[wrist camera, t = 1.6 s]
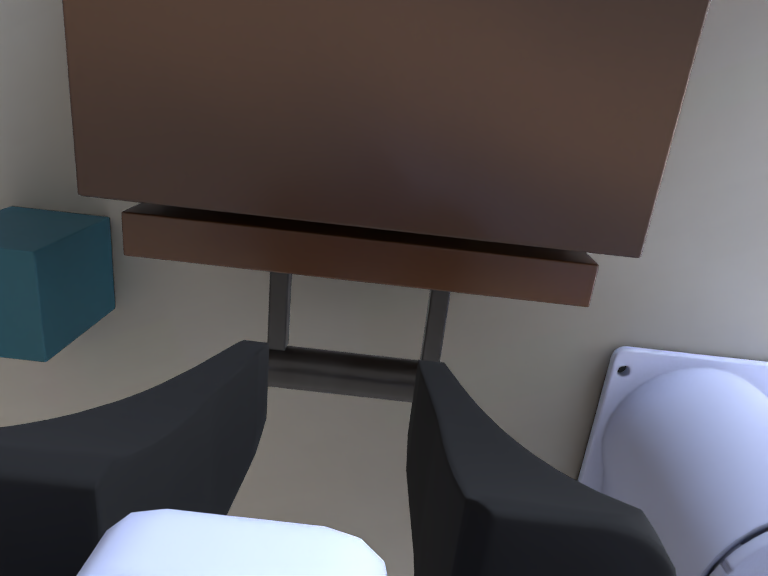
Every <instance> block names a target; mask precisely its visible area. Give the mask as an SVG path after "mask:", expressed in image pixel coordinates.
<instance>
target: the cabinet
mask: <svg viewBox="0 0 768 576" xmlns="http://www.w3.org/2000/svg"><path fill="white" fill-rule="evenodd" d="M710 1H711V0H62V3H63V15H64V27H65V40H66V52H67V64H68V77H69V89H70V102H71V114H72V126H73V139H74V151H75V163H76V176H77V188H78V194H79V195H81V196H86V197H95V198H104V199H113V200H122V201H131V202H140V203H149V204H158V205H167V206H176V207H185V208H194V209H203V210H212V211H221V212H230V213H238V214H247V215H256V216H265V217H274V218H283V219H292V220H301V221H310V222H319V223H328V224H337V225H346V226H355V227H364V228H373V229H382V230H391V231H400V232H409V233H417V234H426V235H435V236H444V237H453V238H462V239H471V240H480V241H489V242H498V243H507V244H516V245H525V246H534V247H543V248H552V249H561V250H570V251H579V252H588V253H596V254H605V255H614V256H623V257H632V258H640V257H641V255H642V252H643V248H644V244H645V241H646V237H647V233H648V230H649V226H650V222H651V218H652V215H653V211H654V207H655V204H656V200H657V196H658V193H659V189H660V185H661V182H662V178H663V174H664V171H665V167H666V163H667V160H668V156H669V152H670V148H671V145H672V141H673V137H674V134H675V130H676V126H677V123H678V119H679V115H680V112H681V108H682V104H683V101H684V97H685V93H686V90H687V86H688V82H689V79H690V75H691V71H692V67H693V64H694V60H695V56H696V53H697V49H698V45H699V42H700V38H701V34H702V31H703V27H704V23H705V20H706V16H707V12H708V9H709V5H710Z"/></svg>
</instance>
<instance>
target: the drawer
mask: <svg viewBox="0 0 768 576" xmlns="http://www.w3.org/2000/svg"><path fill="white" fill-rule="evenodd" d="M122 232H123V250H124V255H126V256H135V257H144V258H153V259H162V260H171V261H180V262H189V263H198V264H207V265H216V266H225V267H233V268H242V269H251V270H260V271H269V272H270V288H269V315H268V341H267V343H269V363H268V386H269V387H278V388H287V389H296V390H304V391H313V392H322V393H331V394H340V395H349V396H358V397H367V398H376V399H385V400H394V401H402V402H411V403H412V401H413V393H414V386H415V379H416V372H417V365H418V360H411V359H402V358H393V357H384V356H375V355H366V354H357V353H348V352H339V351H330V350H321V349H312V348H304V347H295V346H287V345H288V341H289V322H290V303H291V283H292V274H296V275H305V276H314V277H323V278H332V279H341V280H350V281H359V282H368V283H376V284H385V285H394V286H403V287H412V288H421V289H430V293H429V300H428V307H427V314H426V322H425V329H424V336H423V343H422V350H421V357H420V360H425V361H434V362H440V357H441V351H442V344H443V338H444V331H445V325H446V318H447V312H448V305H449V299H450V292H457V293H466V294H475V295H484V296H493V297H502V298H511V299H520V300H528V301H537V302H546V303H555V304H564V305H573V306H582V307H589V305H590V301H591V297H592V293H593V288H594V284H595V280H596V276H597V272H598V268H599V265H598V264H597V263H596V262H595V261H594V260H593V259H592V258H591V257H590V256H589V255H588V254H587V253H586V252H579V251H570V250H561V249H552V248H543V247H534V246H525V245H516V244H507V243H498V242H489V241H480V240H471V239H462V238H453V237H444V236H435V235H426V234H417V233H409V232H400V231H391V230H382V229H373V228H364V227H355V226H346V225H337V224H328V223H319V222H310V221H301V220H292V219H283V218H274V217H265V216H256V215H247V214H238V213H230V212H221V211H212V210H203V209H194V208H185V207H176V206H167V205H158V204H149V203H140V204H138V205H136V206H133V207H131V208H129V209H127V210H125V211H123V212H122Z"/></svg>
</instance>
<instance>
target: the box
mask: <svg viewBox="0 0 768 576" xmlns="http://www.w3.org/2000/svg"><path fill="white" fill-rule="evenodd" d="M114 309H115V296H114V280H113V264H112V249H111V233H110V218H109V217H104V216H95V215H86V214H77V213H68V212H59V211H50V210H41V209H32V208H23V207H14V206H11V207H8V208H5V209H2V210H0V357H4V358H13V359H22V360H31V361H39V362H47V361H48V360H49V359H51V358H52V357H53V356H55V355H56V354H57V353H58V352H60V351H61V350H62V349H64V348H65V347H66V346H67V345H69V344H70V343H71V342H72V341H74V340H75V339H76V338H78V337H79V336H80V335H81V334H83V333H84V332H85V331H87V330H88V329H89V328H90V327H92V326H93V325H94V324H96V323H97V322H98V321H99V320H101V319H102V318H103V317H105V316H106V315H107V314H108V313H110V312H111V311H112V310H114Z"/></svg>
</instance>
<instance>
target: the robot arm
mask: <svg viewBox="0 0 768 576" xmlns="http://www.w3.org/2000/svg"><path fill="white" fill-rule="evenodd" d="M268 363H269V343H264V342H255V341H246V340H243V341H241V342H238V343H236V344H235V345H233V346H231V347H229V348H227V349H226V350H224V351H222V352H221V353H219V354H217V355H215V356H214V357H212V358H210V359H208V360H206V361H205V362H203V363H201V364H199V365H198V366H196V367H194V368H192V369H190V370H188V371H186V372H184V373H182V374H180V375H178V376H176V377H174V378H172V379H170V380H168V381H166V382H164V383H162V384H160V385H158V386H155V387H153V388H151V389H148V390H146V391H144V392H141V393H138V394H136V395H133V396H130V397H128V398H125V399H122V400H119V401H116V402H113V403H110V404H106V405H103V406H100V407H96V408H93V409H89V410H86V411H82V412H79V413H75V414H71V415H67V416H62V417H58V418H53V419H49V420H43V421H38V422H33V423H27V424H21V425H15V426H8V427H0V576H387V572H386V567H385V562H384V561H383V560H382V559H381V558H380V557H379V556H378V555H377V554H376V553H375V552H374V551H373V550H372V549H371V548H370V547H369V546H368V545H367V544H366V543H365V542H364V541H363V540H362V539H361V538H358V537H355V536H352V535H349V534H346V533H343V532H340V531H337V530H334V529H331V528H328V527H324V526H316V525H307V524H298V523H289V522H280V521H271V520H262V519H253V518H244V517H236V516H227V513H228V511H229V509H230V507H231V505H232V503H233V501H234V499H235V496H236V494H237V492H238V490H239V488H240V486H241V484H242V482H243V480H244V477H245V475H246V473H247V471H248V469H249V467H250V465H251V462H252V460H253V458H254V456H255V454H256V450H257V447H258V444H259V441H260V438H261V435H262V431H263V428H264V424H265V421H266V414H267V389H268ZM621 366H626V369H625V371H623V372H620V373H618V372H617V370H618V368H619V367H621ZM406 472H407V484H408V496H409V508H410V519H411V530H412V541H413V553H414V576H768V362H763V361H754V360H745V359H736V358H727V357H718V356H709V355H700V354H691V353H683V352H674V351H665V350H656V349H647V348H638V347H629V346H622V347H619V348H617V349H616V350H615V351H614V352H613V354H612V356H611V359H610V363H609V367H608V371H607V374H606V378H605V382H604V385H603V389H602V393H601V397H600V400H599V404H598V408H597V411H596V415H595V419H594V422H593V426H592V430H591V434H590V437H589V441H588V445H587V448H586V452H585V456H584V460H583V463H582V467H581V471H580V474H579V478H578V481H576V480H574V479H573V478H571V477H569V476H567V475H565V474H564V473H562V472H560V471H558V470H557V469H555V468H553V467H552V466H550V465H549V464H547V463H546V462H544V461H543V460H541V459H540V458H538V457H537V456H535V455H534V454H532V453H531V452H529V451H528V450H527V449H525V448H524V447H523V446H521V445H520V444H519V443H518V442H516V441H515V440H514V439H513V438H512V437H510V436H509V435H508V434H507V433H505V432H504V431H503V430H502V429H501V428H500V427H499V426H498V425H497V424H496V423H495V422H494V421H493V420H492V419H491V418H490V417H489V416H488V415H487V414H486V413H485V412H484V411H483V410H482V409H481V408H480V407H479V406H478V405H477V404H476V403H475V401H474V400H473V399H472V398H471V397H470V396H469V394H468V393H467V392H466V391H465V389H464V388H463V387H462V385H461V384H460V383H459V382H458V380H457V379H456V378H455V376H454V375H453V374H452V372H451V371H450V370H449V368H448V367H447V366H446V364H445V363H443V362H434V361H425V360H418V365H417V372H416V379H415V386H414V393H413V401H412V408H411V415H410V422H409V429H408V441H407V466H406Z"/></svg>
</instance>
